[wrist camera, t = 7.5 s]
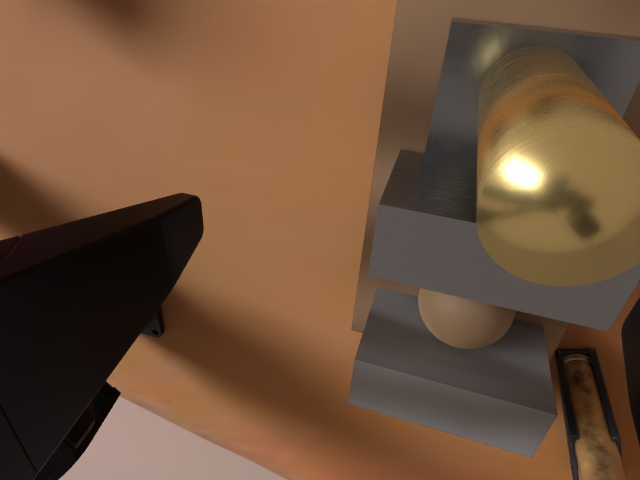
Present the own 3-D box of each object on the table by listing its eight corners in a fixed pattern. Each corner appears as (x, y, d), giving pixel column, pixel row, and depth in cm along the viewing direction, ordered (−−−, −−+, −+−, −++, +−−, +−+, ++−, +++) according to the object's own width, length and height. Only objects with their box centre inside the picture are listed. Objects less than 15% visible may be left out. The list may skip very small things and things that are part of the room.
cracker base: (537, 357, 24) (552, 471, 19) (357, 312, 26) (326, 403, 21) (852, -271, 11) (1193, -471, 6) (440, -260, 13) (413, -400, 8)
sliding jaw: (581, 249, 18) (651, 460, 11) (390, 211, 20) (334, 370, 12) (682, 41, 14) (925, 154, 6) (423, 14, 15) (369, 77, 8)
